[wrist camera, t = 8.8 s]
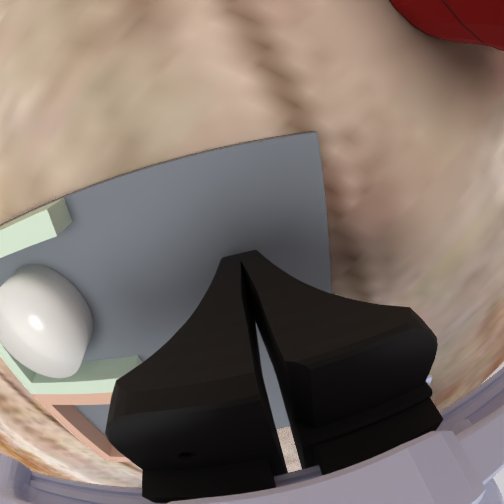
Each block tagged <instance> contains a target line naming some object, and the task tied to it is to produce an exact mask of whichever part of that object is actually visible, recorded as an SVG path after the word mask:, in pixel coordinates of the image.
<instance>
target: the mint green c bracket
mask: <svg viewBox="0 0 504 504" xmlns="http://www.w3.org/2000/svg"><path fill="white" fill-rule="evenodd" d="M72 222H73V221H72V219H71V216H70V213H69V210H68V208H67V205H66V202H65V199H64V198H62V199H59V200H57V201H54V202H52V203H50V204H47V205H45V206H43V207H40V208H38V209H36V210H34V211H31V212H29V213H27V214H25V215H23V216H21V217H18V218H16V219H14V220H12V221H10V222H8V223H6V224H4V225H2V226H0V258H2V257H4V256H7V255H9V254H12V253H14V252H17V251H19V250H22V249H24V248H27V247H29V246H32V245H34V244H37V243H40V242H42V241H45V240H48V239H51V238H53V237H56V236H58V235H59V234H60V233H61V232H62V231H63V230H64V229H65V228H66V227H67V226H69V225H70V224H71V223H72ZM0 357H1V358H2V359H3V361H4V362H5V363H6V365H7V366H8V367H9V368H10V370H11V371H12V372H13V373H14V375H15V376H16V377H17V378H18V379H19V381H20V382H21V383H22V384H23V385H24V386H25V387H26V389H27V390H28V391H29V392H30V393H31V394H92V393H109V392H113V389H114V386H115V382H116V380H117V379H119V378H121V377H122V376H124V375H125V374H127V373H128V372H130V371H131V370H132V369H134V368H135V367H137V366H138V365H140V364H141V363H142V361H141V359H140V358H139V356H138V355H135V356H128V357H121V358H114V359H106V360H97V361H89V362H81V365H80V367H79V369H78V371H77V372H76V373H75V374H73V375H72V376H69V377H66V378H52V377H47V376H44V375H41V374H39V373H36V372H34V371H32V370H31V369H29V368H27V367H26V366H24V365H23V364H21V363H20V362H19V361H18V360H16V359H15V358H14V357H13V356H12V355H11V354H10V353H9V352H8V351H7V350H6V348H5V347H4V346H3V345H2V343H1V342H0Z"/></svg>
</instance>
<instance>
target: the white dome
mask: <svg viewBox="0 0 504 504" xmlns="http://www.w3.org/2000/svg"><path fill="white" fill-rule="evenodd" d="M92 334H93V318H92V314H91V311H90V309H89V306H88V304H87V302H86V301H85V299H84V297H83V296H82V295H81V293H80V292H79V291H78V289H77V288H76V287H75V286H74V285H73V284H72V283H71V282H70V281H69V280H68V279H66V278H65V277H64V276H63V275H61V274H60V273H58V272H56V271H55V270H53V269H51V268H48V267H46V266H43V265H38V264H28V265H24V266H21V267H19V268H18V269H17V270H16V271H15V272H14V273H13V274H12V275H11V276H10V277H9V278H8V279H7V280H6V281H5V282H4V283H3V285H2V286H1V287H0V342H1V343H2V345H3V346H4V347H5V348H6V350H7V351H8V352H9V353H10V354H11V355H12V356H13V357H14V358H15V359H16V360H18V361H19V362H20V363H21V364H23V365H24V366H26V367H27V368H29V369H31V370H32V371H34V372H36V373H39V374H41V375H44V376H47V377H52V378H66V377H69V376H72V375H73V374H75V373H76V372H77V371H78V369H79V367H80V365H81V362H82V359H83V357H84V354H85V352H86V349H87V347H88V344H89V342H90V339H91V337H92Z"/></svg>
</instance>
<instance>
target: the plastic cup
mask: <svg viewBox="0 0 504 504" xmlns="http://www.w3.org/2000/svg"><path fill="white" fill-rule="evenodd" d="M390 1H391V2H392V4H393V5H394V7H395V8H396V9H397V10H398V11H399V12H400V13H401V14H402V15H403V16H404V17H405V18H406V19H407V20H408V21H409V22H410V23H411V24H412V25H413V26H415V27H417V28H418V29H420V30H421V31H423V32H425V33H426V34H428V35H429V36H433V37H437V38H441V39H445V40H449V41H453V42H461V43H470V44H478V45H486V46H491V47H493V48H496V49H498V50H502V51H504V0H390Z"/></svg>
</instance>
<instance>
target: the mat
mask: <svg viewBox="0 0 504 504" xmlns="http://www.w3.org/2000/svg"><path fill="white" fill-rule="evenodd" d="M62 198H64V199H65V202H66V205H67V208H68V210H69V213H70V216H71V219H72V221H73V222H72V223H71V224H70V225H69V226H67V227H66V228H65V229H64V230H63V231H62V232H61V233H60V234H59V235H58V236H56V237H53V238H51V239H48V240H45V241H42V242H40V243H37V244H34V245H32V246H29V247H27V248H24V249H22V250H19V251H17V252H14V253H12V254H9V255H7V256H4V257H2V258H0V287H1V286H2V285H3V283H4V282H5V281H6V280H7V279H8V278H9V277H10V276H11V275H12V274H13V273H14V272H15V271H16V270H17V269H18V268H19V267H21V266H24V265H28V264H38V265H43V266H46V267H48V268H51V269H53V270H55V271H56V272H58V273H60V274H61V275H63V276H64V277H65V278H66V279H68V280H69V281H70V282H71V283H72V284H73V285H74V286H75V287H76V288H77V289H78V291H79V292H80V293H81V295H82V296H83V297H84V299H85V301H86V302H87V304H88V306H89V309H90V311H91V314H92V318H93V334H92V337H91V339H90V342H89V344H88V347H87V349H86V352H85V354H84V357H83V359H82V362H89V361H97V360H106V359H114V358H121V357H128V356H135V355H138V356H139V358H140V359H141V361H142V363H143V362H144V361H145V360H146V359H148V358H149V357H150V356H151V355H153V354H154V353H155V352H156V351H157V350H159V349H160V348H161V347H162V346H163V345H164V344H165V343H166V342H168V341H169V340H170V339H171V338H172V336H173V335H174V334H175V333H176V332H177V331H178V330H179V329H180V328H181V327H182V326H183V325H184V324H185V323H186V321H187V320H188V319H189V318H190V316H191V315H192V314H193V312H194V311H195V309H196V308H197V306H198V305H199V303H200V302H201V300H202V298H203V297H204V295H205V293H206V291H207V290H208V288H209V286H210V284H211V282H212V280H213V277H214V275H215V273H216V271H217V268H218V265H219V263H220V260H221V259H222V257H226V256H230V255H235V254H239V253H243V252H247V251H251V250H257V251H259V252H260V253H261V254H262V255H263V256H264V257H266V258H267V259H268V260H269V261H271V262H272V263H273V264H275V265H276V266H277V267H279V268H280V269H282V270H283V271H285V272H286V273H288V274H289V275H291V276H293V277H294V278H296V279H298V280H300V281H302V282H304V283H306V284H308V285H310V286H313V287H315V288H317V289H320V290H322V291H325V292H328V293H331V294H332V289H331V266H330V249H329V234H328V221H327V210H326V199H325V189H324V180H323V171H322V163H321V155H320V148H319V140H318V133H317V132H313V131H310V132H303V133H296V134H289V135H283V136H277V137H271V138H265V139H260V140H254V141H249V142H244V143H239V144H234V145H230V146H225V147H220V148H216V149H212V150H207V151H203V152H199V153H195V154H191V155H187V156H183V157H180V158H176V159H172V160H169V161H165V162H161V163H158V164H155V165H151V166H148V167H144V168H141V169H138V170H135V171H132V172H129V173H125V174H122V175H119V176H116V177H113V178H111V179H108V180H105V181H102V182H99V183H96V184H94V185H91V186H88V187H86V188H83V189H80V190H78V191H75V192H73V193H70V194H68V195H65V196H63V197H60V198H58V199H55V200H53V201H51V202H48V203H46V204H44V205H41V206H39V207H37V208H35V209H32V210H30V211H28V212H26V213H24V214H22V215H20V216H17V217H15V218H13V219H11V220H9V221H7V222H5V223H3V224H1V225H0V226H2V225H4V224H6V223H8V222H10V221H12V220H14V219H16V218H18V217H21V216H23V215H25V214H27V213H29V212H31V211H34V210H36V209H38V208H40V207H43V206H45V205H47V204H50V203H52V202H54V201H57V200H59V199H62ZM255 323H256V322H255ZM256 330H257V337H258V345H259V352H260V360H261V367H262V373H263V379H264V383H265V387H266V391H267V395H268V399H269V403H270V407H271V411H272V415H273V419H274V423H275V426H276V429H280V428H284V427H287V426H290V424H289V420H288V416H287V413H286V409H285V406H284V402H283V398H282V395H281V391H280V388H279V384H278V380H277V377H276V374H275V371H274V368H273V365H272V363H271V360H270V358H269V355H268V353H267V350H266V347H265V345H264V342H263V340H262V337H261V335H260V332H259V329H258V327H257V324H256ZM74 406H75V407H76V409H77V410H78V411H79V412H80V413H81V414H82V415H83V416H84V417H85V418H86V419H87V420H88V421H90V422H91V423H92V424H93V425H94V426H95V427H96V428H97V429H98V430H99V431H100V432H101V433H102V434H103V435H105V436H106V434H105V430H106V424H107V418H108V413H109V407H110V404H102V405H74ZM106 437H107V436H106Z"/></svg>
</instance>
